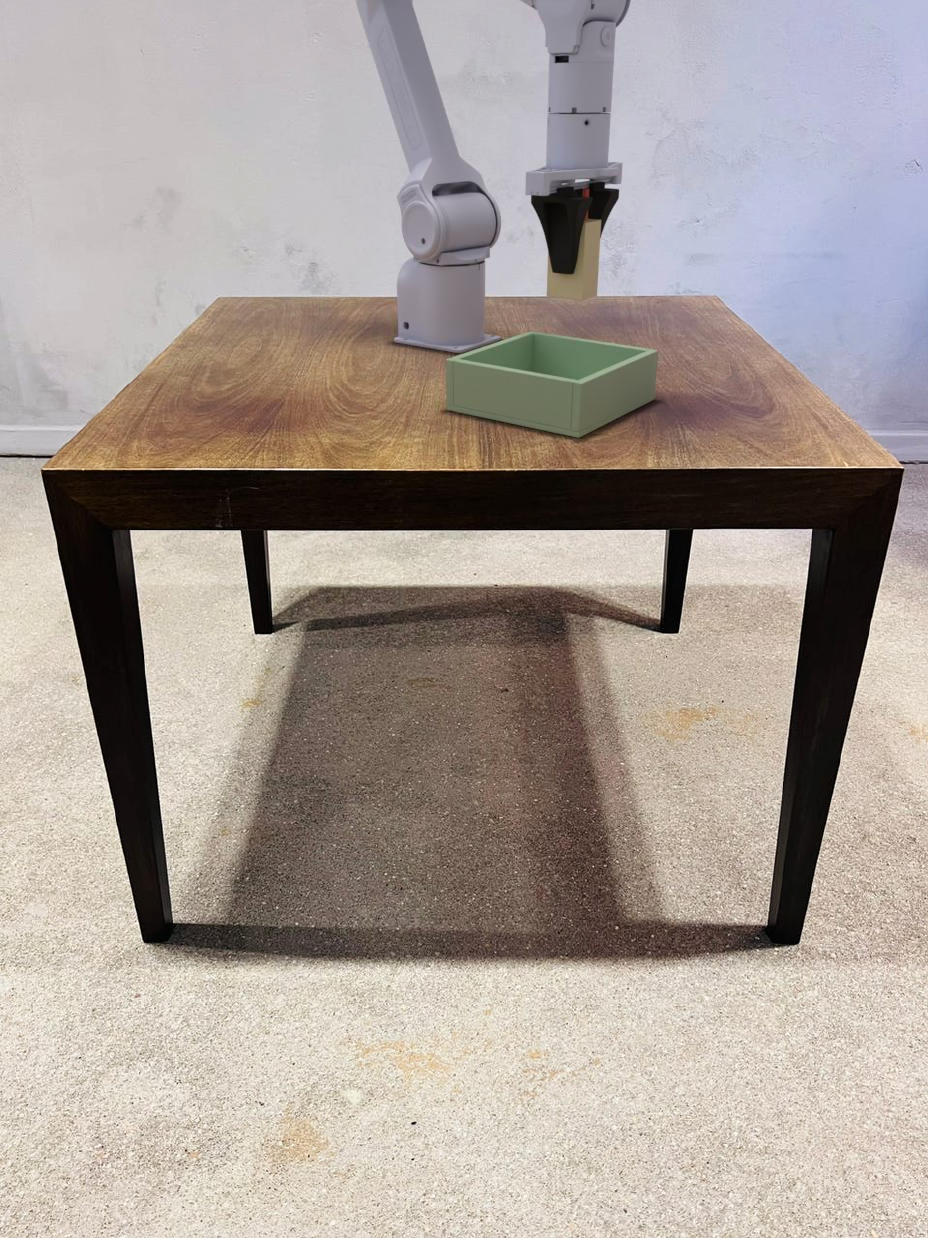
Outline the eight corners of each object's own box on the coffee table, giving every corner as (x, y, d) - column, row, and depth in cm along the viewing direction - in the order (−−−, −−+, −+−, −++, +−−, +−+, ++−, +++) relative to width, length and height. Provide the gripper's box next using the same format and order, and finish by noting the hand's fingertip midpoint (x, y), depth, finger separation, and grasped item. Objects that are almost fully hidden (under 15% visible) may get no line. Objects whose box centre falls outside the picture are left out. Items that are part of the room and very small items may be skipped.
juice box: (546, 296, 96) (549, 187, 92) (562, 291, 99) (566, 185, 94) (581, 300, 94) (587, 190, 90) (597, 295, 96) (603, 187, 92)
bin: (446, 409, 87) (445, 359, 85) (529, 376, 97) (530, 330, 95) (578, 438, 80) (581, 383, 78) (654, 399, 90) (658, 349, 88)
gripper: (577, 115, 82) (570, 285, 88) (654, 111, 92) (643, 263, 98) (506, 114, 85) (504, 278, 92) (588, 110, 95) (581, 258, 102)
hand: (572, 270), depth 95 cm, fingers closed on juice box, 3 cm apart
